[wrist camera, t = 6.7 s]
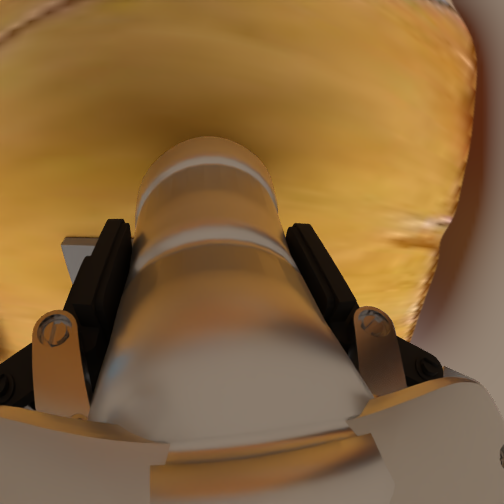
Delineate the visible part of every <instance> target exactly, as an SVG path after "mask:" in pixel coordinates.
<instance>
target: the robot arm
mask: <svg viewBox="0 0 504 504" xmlns="http://www.w3.org/2000/svg"><path fill="white" fill-rule="evenodd" d="M286 242H287V245H288V248H289V251H290V254H291V256H292V258H293V260H294V262H295V264H296V266H297V268H298V270H299V271H300V273H301V275H302V277H303V279H304V281H305V283H306V285H307V287H308V288H309V290H310V292H311V294H312V296H313V298H314V300H315V302H316V304H317V306H318V308H319V310H320V312H321V314H322V316H323V318H324V320H325V321H326V323H327V324H328V326H329V327H330V329H331V330H332V332H333V333H334V335H335V337H336V338H337V340H338V341H339V343H340V344H341V346H342V347H343V349H344V350H345V352H346V354H347V355H348V357H349V358H350V360H351V361H352V363H353V364H354V366H355V368H356V369H357V371H358V372H359V374H360V375H361V377H362V379H363V380H364V382H365V383H366V385H367V387H368V388H369V390H370V391H371V393H372V395H373V396H374V399H371V400H369V402H368V403H367V405H366V406H365V408H364V410H363V412H362V414H360V415H357V416H354V417H351V418H349V419H348V420H347V421H345V422H346V423H347V424H348V425H349V427H350V428H351V429H352V430H353V432H354V433H355V434H356V435H357V436H361V435H365V434H368V433H371V434H372V436H373V438H374V441H375V443H376V445H377V447H378V449H379V452H380V454H381V456H382V458H383V461H384V463H385V465H386V467H387V469H388V471H389V473H390V474H391V476H392V478H393V480H394V482H395V488H394V493H393V496H392V498H391V500H390V503H389V504H504V419H503V417H502V415H501V413H500V411H499V409H498V407H497V406H496V404H495V402H494V400H493V398H492V397H491V395H490V394H489V392H488V391H487V390H486V388H485V387H484V386H483V385H482V384H480V383H479V382H478V381H476V380H474V379H472V378H470V377H468V376H465V375H463V374H461V373H459V372H456V371H454V370H452V369H450V368H447V367H445V366H444V367H443V368H442V366H441V364H440V362H439V361H438V360H437V358H436V357H434V356H433V355H431V354H430V353H428V352H426V351H424V350H422V349H420V348H419V347H417V346H415V345H413V344H411V343H409V342H407V341H405V340H403V339H402V338H400V337H398V336H396V332H395V328H394V325H393V322H392V320H391V319H390V318H389V316H388V315H387V314H386V313H384V312H383V311H381V310H380V309H378V308H375V307H371V306H364V307H359V306H358V304H357V302H356V301H357V300H356V299H355V297H354V295H353V294H352V292H351V290H350V288H349V287H348V285H347V283H346V282H345V280H344V278H343V276H342V275H341V273H340V271H339V270H338V268H337V266H336V265H335V263H334V262H333V260H332V258H331V257H330V255H329V253H328V252H327V250H326V249H325V247H324V245H323V244H322V242H321V241H320V239H319V237H318V236H317V234H316V233H315V231H314V230H313V228H312V226H311V225H310V224H301V223H295V224H294V225H293V226H292V227H289V228H288V230H287V234H286ZM131 254H132V241H131V232H130V225H129V223H125V222H124V219H108V220H107V222H106V224H105V226H104V228H103V230H102V232H101V234H100V236H99V239H98V241H97V243H96V245H95V247H94V249H93V252H92V254H91V256H86V257H85V258H84V259H83V262H82V264H81V266H80V268H79V271H78V273H77V275H76V278H75V280H74V283H73V285H72V288H71V290H70V293H69V295H68V298H67V301H66V303H65V306H64V309H63V310H54V311H51V312H48V313H46V314H44V315H43V316H41V318H40V319H39V320H38V321H37V322H36V324H35V326H34V329H33V334H32V343H30V344H29V345H27V346H26V347H25V348H23V349H22V350H20V351H19V352H17V353H16V354H14V355H13V356H11V357H10V358H8V359H7V360H6V361H4V362H3V363H1V364H0V504H150V465H165V464H166V460H167V456H168V452H169V448H170V443H167V442H163V441H151V440H147V439H145V438H142V437H140V436H137V435H135V434H132V433H130V432H129V431H127V430H126V429H124V428H122V427H121V426H119V425H118V424H110V423H102V422H94V421H87V419H88V415H89V411H90V405H91V400H92V397H93V393H94V390H95V386H96V383H97V379H98V376H99V373H100V370H101V367H102V363H103V360H104V357H105V354H106V351H107V348H108V345H109V342H110V338H111V334H112V330H113V326H114V322H115V318H116V314H117V310H118V307H119V303H120V300H121V296H122V293H123V290H124V286H125V283H126V280H127V276H128V273H129V268H130V261H131Z"/></svg>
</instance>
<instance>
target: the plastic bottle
mask: <svg viewBox="0 0 504 504" xmlns="http://www.w3.org/2000/svg"><path fill="white" fill-rule="evenodd" d="M135 227H136V230H135V235H134V241H133V247H132V254H131V261H130V268H129V273H128V276H127V280H126V283H125V286H124V290H123V293H122V296H121V300H120V303H119V307H118V310H117V314H116V318H115V322H114V326H113V330H112V334H111V338H110V342H109V345H108V348H107V351H106V354H105V357H104V360H103V363H102V367H101V370H100V373H99V376H98V379H97V383H96V386H95V390H94V393H93V397H92V400H91V405H90V411H89V415H88V419H87V421H94V422H102V423H110V424H118V425H119V426H121V427H122V428H124V429H126V430H127V431H129V432H130V433H132V434H135V435H137V436H140V437H142V438H145V439H147V440H151V441H163V442H167V443H170V448H169V452H168V456H167V460H166V464H165V465H150V504H389V503H390V500H391V498H392V496H393V493H394V488H395V482H394V480H393V478H392V476H391V474H390V473H389V471H388V469H387V467H386V465H385V463H384V461H383V458H382V456H381V454H380V452H379V449H378V447H377V445H376V443H375V441H374V438H373V436H372V434H371V433H368V434H365V435H361V436H357V435H356V434H355V433H354V432H353V430H352V429H351V428H350V427H349V425H348V424H347V423H346V422H345V421H347V420H348V419H349V418H351V417H354V416H357V415H360V414H362V412H363V410H364V408H365V406H366V405H367V403H368V402H369V400H371V399H374V396H373V395H372V393H371V391H370V390H369V388H368V387H367V385H366V383H365V382H364V380H363V379H362V377H361V375H360V374H359V372H358V371H357V369H356V368H355V366H354V364H353V363H352V361H351V360H350V358H349V357H348V355H347V354H346V352H345V350H344V349H343V347H342V346H341V344H340V343H339V341H338V340H337V338H336V337H335V335H334V333H333V332H332V330H331V329H330V327H329V326H328V324H327V323H326V321H325V320H324V318H323V316H322V314H321V312H320V310H319V308H318V306H317V304H316V302H315V300H314V298H313V296H312V294H311V292H310V290H309V288H308V287H307V285H306V283H305V281H304V279H303V277H302V275H301V273H300V271H299V270H298V268H297V266H296V264H295V262H294V260H293V258H292V256H291V254H290V251H289V248H288V245H287V242H286V238H285V235H284V232H283V229H282V226H281V223H280V219H279V216H278V209H277V200H276V196H275V192H274V188H273V184H272V180H271V177H270V175H269V173H268V171H267V169H266V167H265V165H264V164H263V163H262V162H261V160H260V159H259V158H258V157H257V156H256V155H255V154H253V153H252V152H251V151H249V150H248V149H247V148H245V147H244V146H242V145H240V144H238V143H236V142H233V141H231V140H229V139H225V138H221V137H216V136H202V137H197V138H192V139H189V140H186V141H184V142H181V143H179V144H177V145H175V146H174V147H172V148H171V149H169V150H168V151H167V152H165V153H164V154H163V155H161V156H160V157H159V158H158V159H157V160H156V161H155V162H154V163H153V164H152V165H151V167H150V168H149V170H148V171H147V173H146V174H145V176H144V178H143V180H142V183H141V185H140V188H139V192H138V198H137V205H136V213H135Z"/></svg>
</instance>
